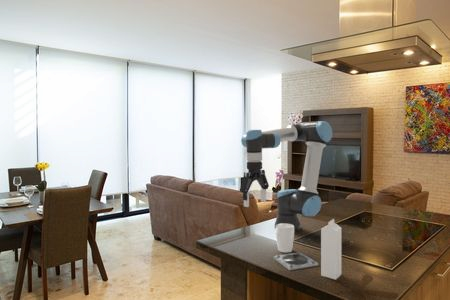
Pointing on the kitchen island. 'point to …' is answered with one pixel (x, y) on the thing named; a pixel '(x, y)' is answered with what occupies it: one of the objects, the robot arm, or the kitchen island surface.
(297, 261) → the flange
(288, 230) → the cup
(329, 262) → the milk
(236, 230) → the kitchen island surface
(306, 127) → the robot arm
